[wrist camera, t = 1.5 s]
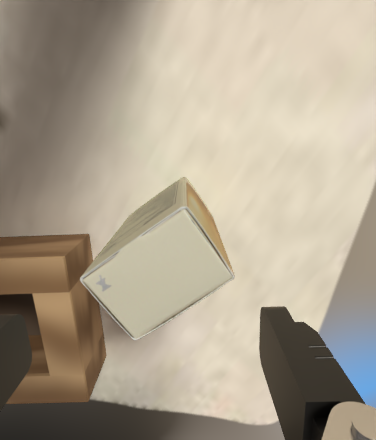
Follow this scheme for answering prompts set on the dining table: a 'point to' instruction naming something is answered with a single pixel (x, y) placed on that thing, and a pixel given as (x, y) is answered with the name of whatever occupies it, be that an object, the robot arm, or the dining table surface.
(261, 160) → the dining table surface
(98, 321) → the socket block
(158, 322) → the skincare box
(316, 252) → the dining table surface
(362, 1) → the dining table surface
